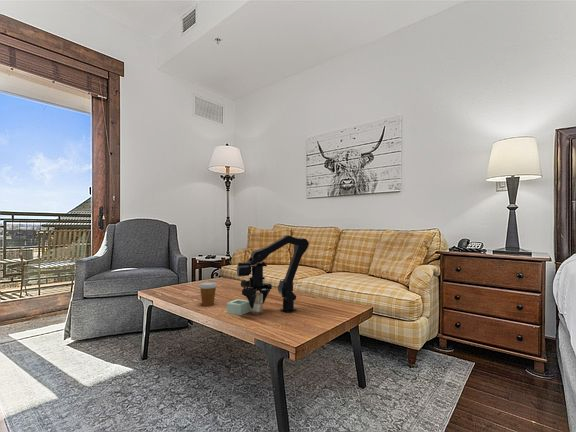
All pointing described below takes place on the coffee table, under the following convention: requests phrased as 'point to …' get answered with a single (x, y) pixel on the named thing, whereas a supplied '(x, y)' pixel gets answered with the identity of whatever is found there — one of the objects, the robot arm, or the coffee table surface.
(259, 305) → the beige rectangular block
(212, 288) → the disposable coffee cup
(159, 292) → the coffee table surface
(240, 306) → the green square frame
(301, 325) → the coffee table surface
